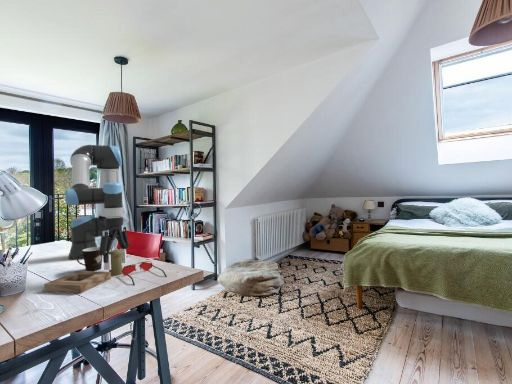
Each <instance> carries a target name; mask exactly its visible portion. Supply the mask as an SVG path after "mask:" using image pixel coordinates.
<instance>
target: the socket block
mask: <svg viewBox="0 0 512 384" xmlns="http://www.w3.org/2000/svg"><path fill="white" fill-rule="evenodd" d="M111 279H112V276H111V272H109V271H99V270H97V271H86V270H77V271H75V272H72V273H69V274H66V275H63V276H60V277H59V278H58V277H57V278H56V279H54V280H51V281H48V282H45V283H44V285H43V286H44V290H43V291H44V293H45V292H46V293H47V292H48V293H61V294H62V293H67V294H82V293H85V292H86V291H89V290H90V289H92V288H94V287H97V286H99V285H101V284H103V283H105V282H107V281H109V280H111Z"/></svg>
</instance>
